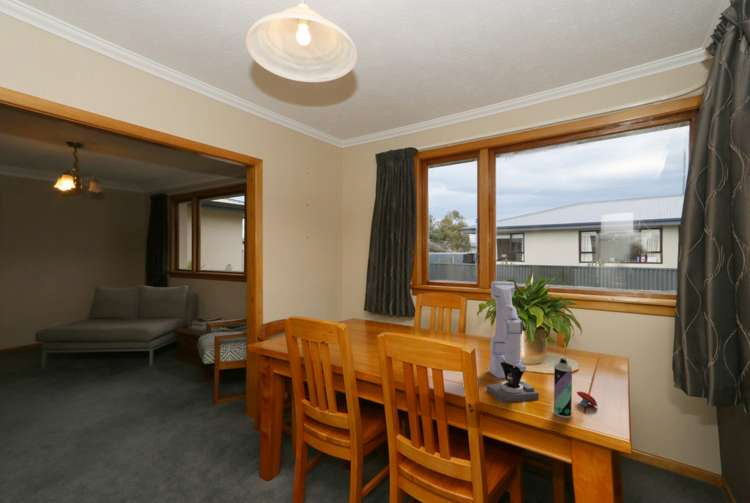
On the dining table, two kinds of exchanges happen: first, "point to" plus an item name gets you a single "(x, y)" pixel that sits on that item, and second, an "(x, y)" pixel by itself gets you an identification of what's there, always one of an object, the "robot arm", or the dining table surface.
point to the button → (586, 399)
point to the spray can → (563, 389)
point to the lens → (510, 380)
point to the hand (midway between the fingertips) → (512, 382)
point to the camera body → (513, 392)
